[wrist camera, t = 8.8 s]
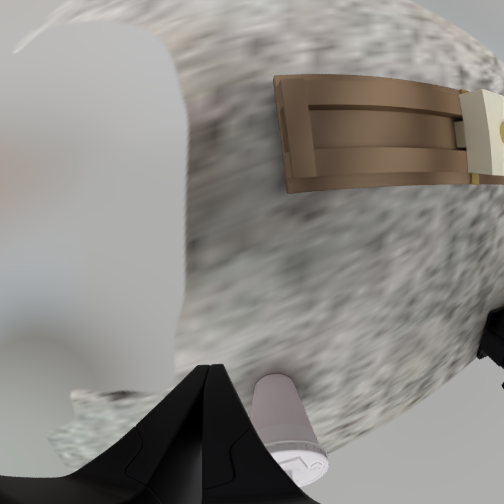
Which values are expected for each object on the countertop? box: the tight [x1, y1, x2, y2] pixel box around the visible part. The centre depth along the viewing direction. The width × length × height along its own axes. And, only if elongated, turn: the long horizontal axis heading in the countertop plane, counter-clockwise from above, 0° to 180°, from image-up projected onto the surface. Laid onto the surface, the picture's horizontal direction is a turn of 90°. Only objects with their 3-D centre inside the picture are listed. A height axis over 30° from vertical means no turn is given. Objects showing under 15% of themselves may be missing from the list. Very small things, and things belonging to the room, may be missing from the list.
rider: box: [454, 89, 504, 176], centre depth 13 cm, size 4×5×5 cm
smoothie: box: [250, 374, 329, 487], centre depth 18 cm, size 6×6×14 cm
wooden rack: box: [273, 74, 504, 194], centre depth 16 cm, size 20×7×6 cm, turn 97°
